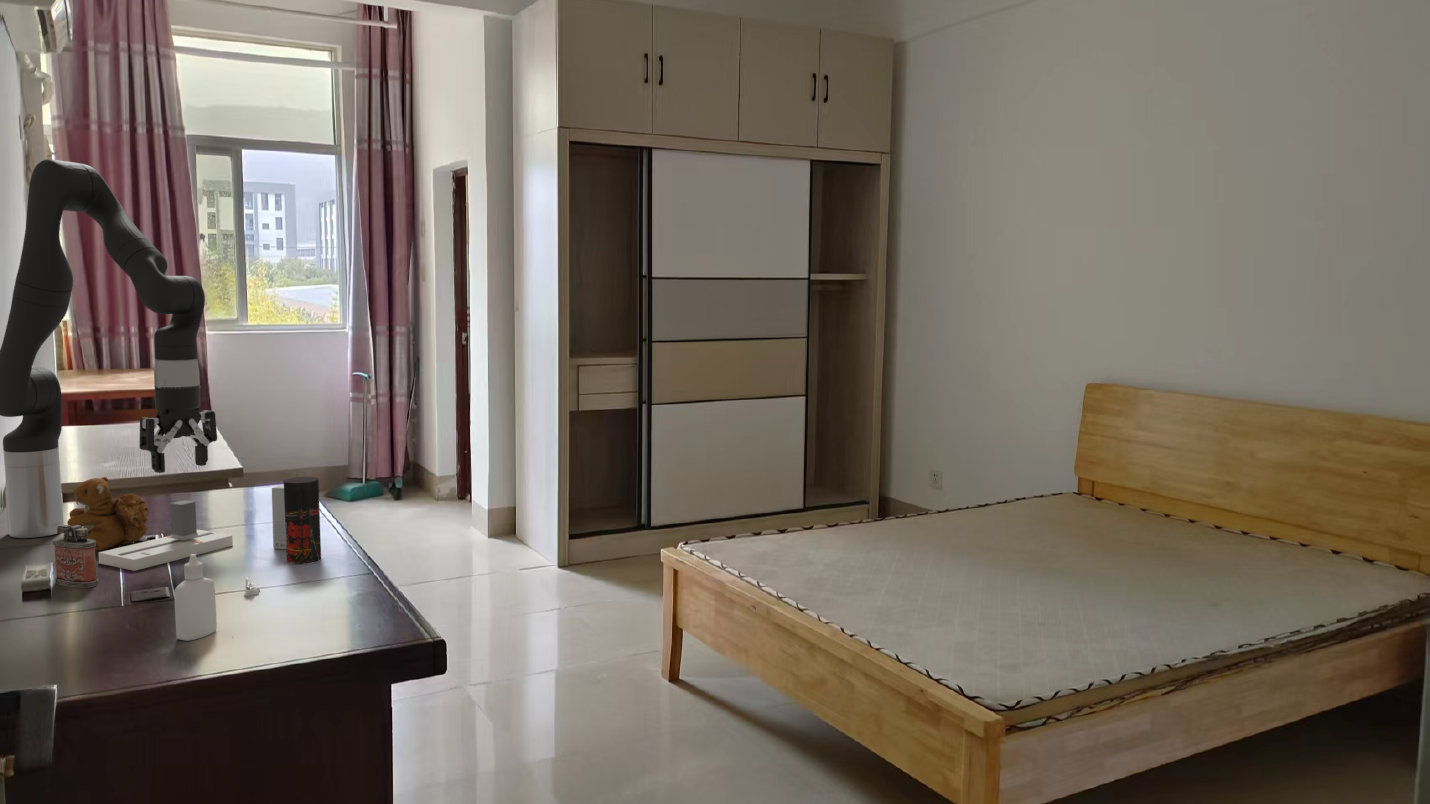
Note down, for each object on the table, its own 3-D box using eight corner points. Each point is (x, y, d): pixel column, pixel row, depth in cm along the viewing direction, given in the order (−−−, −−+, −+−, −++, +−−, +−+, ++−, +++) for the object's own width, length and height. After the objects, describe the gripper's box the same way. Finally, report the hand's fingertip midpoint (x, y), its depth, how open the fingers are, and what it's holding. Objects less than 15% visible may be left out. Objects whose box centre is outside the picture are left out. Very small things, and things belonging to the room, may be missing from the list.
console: (99, 563, 187) (98, 551, 186) (198, 539, 204) (197, 528, 204) (134, 570, 182) (133, 559, 182) (232, 545, 200) (232, 534, 200)
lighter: (103, 583, 175) (100, 525, 173) (85, 588, 171) (82, 530, 170) (68, 578, 177) (64, 521, 176) (50, 583, 174) (46, 525, 173)
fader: (171, 538, 195) (169, 502, 195) (185, 534, 198) (183, 500, 197) (183, 540, 194) (181, 505, 193) (197, 537, 197) (196, 502, 196)
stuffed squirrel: (76, 540, 202) (72, 474, 201) (157, 535, 207) (153, 471, 205) (63, 553, 193) (58, 484, 191) (148, 548, 198) (144, 480, 196)
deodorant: (280, 559, 190) (277, 479, 188) (312, 553, 194) (309, 475, 193) (295, 566, 186) (292, 484, 184) (327, 559, 190) (324, 480, 189)
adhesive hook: (243, 595, 170) (242, 576, 170) (260, 593, 172) (260, 574, 171) (243, 600, 168) (242, 581, 167) (260, 598, 169) (260, 579, 168)
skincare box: (292, 550, 197) (290, 488, 195) (272, 549, 198) (270, 487, 196) (311, 542, 203) (309, 482, 201) (291, 541, 204) (289, 481, 202)
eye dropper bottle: (172, 635, 150) (168, 554, 148) (213, 627, 153) (210, 548, 152) (179, 643, 146) (175, 561, 145) (221, 635, 150) (218, 554, 149)
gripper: (198, 379, 200) (201, 461, 202) (127, 385, 188) (131, 472, 190) (224, 381, 197) (227, 465, 199) (154, 387, 184) (158, 477, 186)
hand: (180, 468), depth 194 cm, fingers open, 8 cm apart
